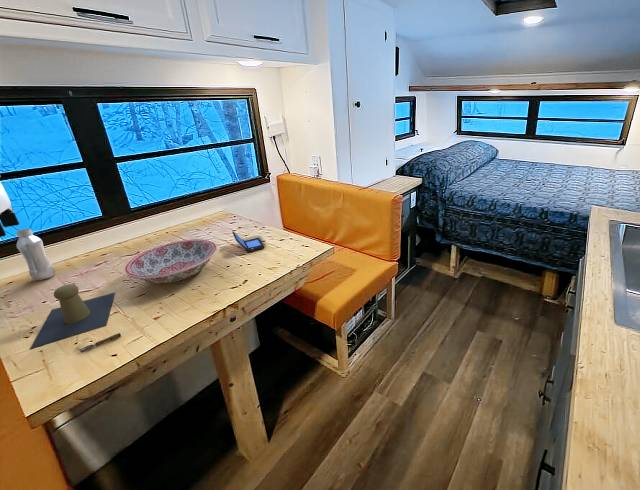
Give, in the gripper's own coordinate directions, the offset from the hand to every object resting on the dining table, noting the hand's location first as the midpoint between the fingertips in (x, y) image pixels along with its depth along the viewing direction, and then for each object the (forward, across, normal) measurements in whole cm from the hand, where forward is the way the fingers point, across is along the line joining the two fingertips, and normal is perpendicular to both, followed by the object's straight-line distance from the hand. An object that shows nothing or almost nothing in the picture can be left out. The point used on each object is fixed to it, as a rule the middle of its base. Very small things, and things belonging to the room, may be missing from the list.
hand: (5, 231), depth 89 cm
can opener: (+28, +30, +18) cm, 45 cm away
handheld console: (+29, -8, +64) cm, 71 cm away
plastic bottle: (+28, -28, -6) cm, 40 cm away
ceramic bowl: (+28, 0, +37) cm, 47 cm away
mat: (+28, +11, +10) cm, 32 cm away
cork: (+28, +11, +10) cm, 32 cm away
